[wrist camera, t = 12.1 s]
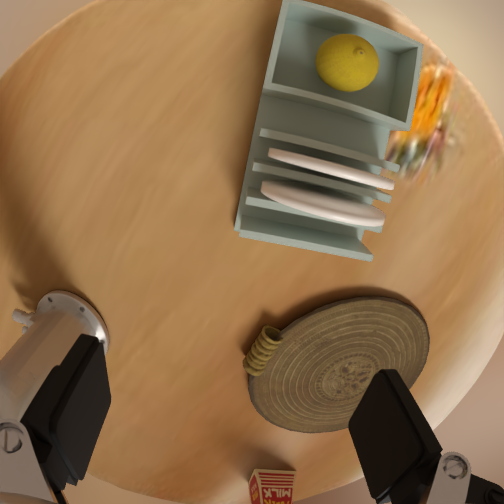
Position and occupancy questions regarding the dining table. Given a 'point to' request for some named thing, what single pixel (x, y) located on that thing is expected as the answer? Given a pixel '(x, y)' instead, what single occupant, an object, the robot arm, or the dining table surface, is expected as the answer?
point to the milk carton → (271, 486)
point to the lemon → (347, 62)
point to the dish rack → (324, 136)
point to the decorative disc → (333, 361)
